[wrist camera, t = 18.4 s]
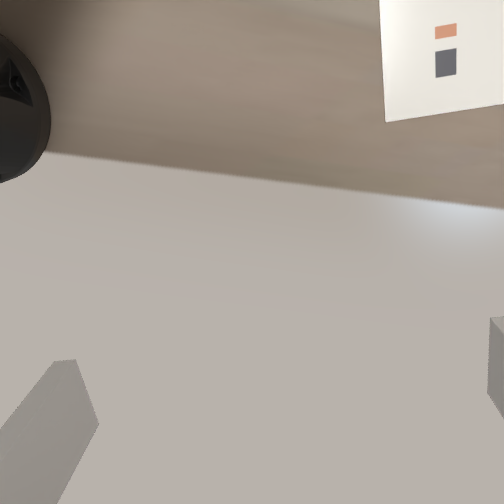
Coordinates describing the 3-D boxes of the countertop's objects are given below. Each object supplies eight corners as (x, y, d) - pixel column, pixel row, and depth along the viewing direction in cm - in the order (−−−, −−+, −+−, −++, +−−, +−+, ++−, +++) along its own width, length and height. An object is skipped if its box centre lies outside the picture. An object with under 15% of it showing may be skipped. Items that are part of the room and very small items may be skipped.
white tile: (385, 122, 42) (385, 122, 42) (378, -10, 38) (378, -10, 38) (507, 102, 41) (508, 103, 41) (514, -36, 37) (514, -36, 37)
